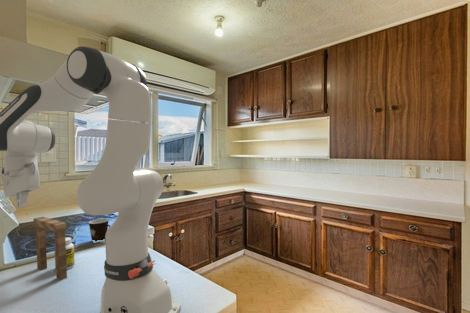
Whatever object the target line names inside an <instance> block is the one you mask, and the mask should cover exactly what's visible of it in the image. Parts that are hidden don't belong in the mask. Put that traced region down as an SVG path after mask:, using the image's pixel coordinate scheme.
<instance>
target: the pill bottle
mask: <svg viewBox="0 0 470 313" xmlns="http://www.w3.org/2000/svg"><path fill="white" fill-rule="evenodd" d="M65 243H66V266H67V270H70V269H72V268H73V267H74V266H75V263H76V262H75V245H74V244H73V243H72V237H69V236H68V237H66V236H65ZM54 266H55V270H56V255H55V254H54Z"/></svg>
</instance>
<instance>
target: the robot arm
mask: <svg viewBox="0 0 470 313" xmlns="http://www.w3.org/2000/svg"><path fill="white" fill-rule="evenodd" d="M147 81H148V80H147V76H146V74H145V72H144V71H143V70H142V69H141V68H140V67H138V66H137V65H135V64H133V63H129V62H128V61H126V60H124V59H122V58H120V57H119V56H117V55H114V54H112V53H108V52H106V51H102V50H99V49H97V48H94V47H91V46H78V47H75V48H74V49H72V51H71V52H70V54H69V55H68V57H67V59H65V61H64V63H62V64H61V66H60V67H59V68H58V69H57V70H56V72H55V73H54V74H53V76H51V77H50V78H49V79H47V80H45V81H43V82H42V83H41V82H40V83H38V84H33V85H30V86H27V87H26V88H25V89H24V90H22V91H21V93H19V94H18V95H17V96H16V97H15V98H14V99H13V100H11V102H10V103H8V105H6V106H5V107H4V108H3V109H2V110H1V111H0V151H3V152H6V153H5V156H4V165H3V168H2V169H1V176H2V177H3V178H2V181H3V182H2V183H3V194H4V196H5V197H6V198H10V197H11V198H13V197H14V199H15V201H16V202H15V203H16V207H17V208H22V207H23V208H24V207H26V206H27V204H28V198H29V193H31V192H33V191H36V190H38V189H40V186H41V179H40V178H41V177H40V171H39V170H40V169H39V165H38V164H39V163H38V162H39V160H38V154H43V153H44V154H45V153H49V151H51V150H52V149H53V148H54V147H55V145H56V135H55V132H54V131H53V129H51V128H50V127H49V126H46V125H41V124H36V123H34V122H33V121H30V120H26V119H28V117H29V116H31V115H32V114H36V113H40V112H73V111H78V110H80V109H82V108H83V107H84V106H86V105H87V104H88V103H89V101H90V100H91V98H93V96H94V95H98V94H100V93H101V94H103V95H104V96H105V97H106V98H107V100H108V115H107V129H106V138H105V144H104V145H105V146H104V148H103V149H104V150H103V153H102V155H101V157H100V159H99V162H98V163H97V164H96V165H95V167H94V169H93V170H92V172H91V173H89V174H88V175H87V176H86V177H85V178H84V179H82V181H81V182H80V183H79V184H78V187H77V189H76V201H77V202H76V203H77V205H78V206H79V208H80V209H81V210H82V212H84V213H85V214H86V215H88V216H107V215H112V214H115V213H117V216H116V218H115V219H114V222H113V223H112V224H111V225H110V227H109V226H108V230H107V232H106V235H105V242H104V243H105V260H104V265H103V267H104V268H103V270H104V277H105V279H104V280H105V281H104V282H103V285H102V288H101V293H100V308H99V309H100V312H99V313H180V312H181V308H182V306H181V303H180V302H179V301H177V300H176V299H174V298H172V292H171V288H170V286H169V285H168V281H167V278H162V277H161V276H160V275H159V274H158V272H157V271H156V270H155V269H154V265H155V264H156V263H155V261H156V260H154V259H153V260H152V257H151V255H150V253H149V224H150V221H151V220H150V219H151V216H152V212H153V209H154V207H155V205H156V203H157V200H158V199H159V198H160V197H161V196H162V193H163V192H164V186H165V185H164V181H163V178H162V176H161V175H160V173H159V172H157V171H156V170H153V169H147V168H136V167H137V165H138V163H139V162H140V160H141V159H142V158H143V157H144V156H146V155H147V154H148V151H149V150H150V141H151V140H150V139H151V129H152V128H151V127H152V100H151V99H152V98H151V93H150V89H149V88H148V87H147V85H148V84H147V83H148V82H147Z"/></svg>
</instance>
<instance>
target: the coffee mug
mask: <svg viewBox="0 0 470 313" xmlns="http://www.w3.org/2000/svg"><path fill="white" fill-rule="evenodd" d="M88 226H89V231H90V232H89V233H90V236H91V237H90V238H91V241H92V240H95V241H97V240H103V239H105V235H106V232H107V230H108V229H109V227H110V226H111V225H110V224H109V219H108V218H98V219H93V220H90V221H89V222H88Z"/></svg>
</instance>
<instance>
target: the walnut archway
mask: <svg viewBox="0 0 470 313" xmlns="http://www.w3.org/2000/svg"><path fill="white" fill-rule="evenodd" d="M33 226H35V227H34V228H35V248H36V266H37V267H36V268H37V270H39V271H43V270H46V269H47V268H48V260H47V257H48V256H47V239H46V234H47V233H46V230H49V231H52V232H54V256H55V255H56V269H55V273H56V279H57V280H60V281H62V280H65V279H68V272H67V271H68V269H67V266H66V243H65V238H66V231H67V222H64V221H60V220H55V219H53V218H48V217H44V216H41V217H36V218H35V217H34V218H33Z"/></svg>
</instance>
